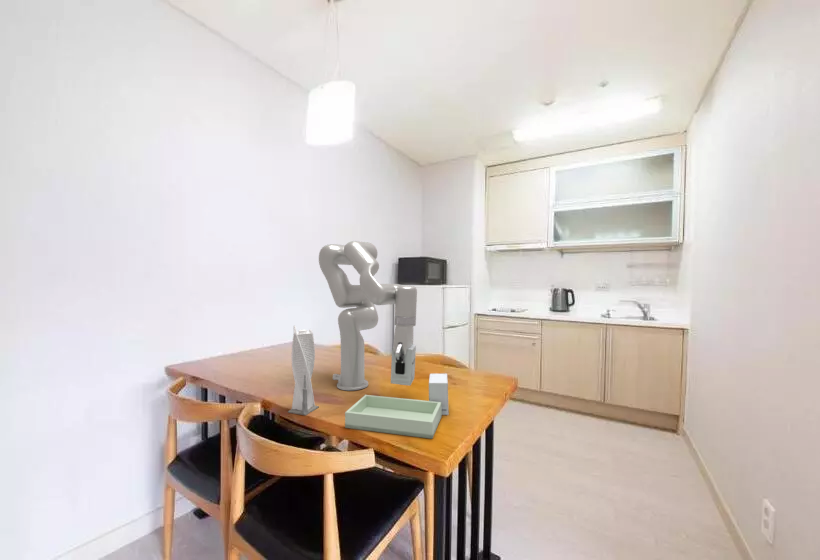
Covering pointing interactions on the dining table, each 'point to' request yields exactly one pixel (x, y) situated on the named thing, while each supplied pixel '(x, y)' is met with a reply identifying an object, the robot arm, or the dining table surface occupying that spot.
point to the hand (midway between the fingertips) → (403, 370)
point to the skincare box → (439, 390)
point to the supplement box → (409, 367)
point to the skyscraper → (303, 372)
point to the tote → (395, 416)
